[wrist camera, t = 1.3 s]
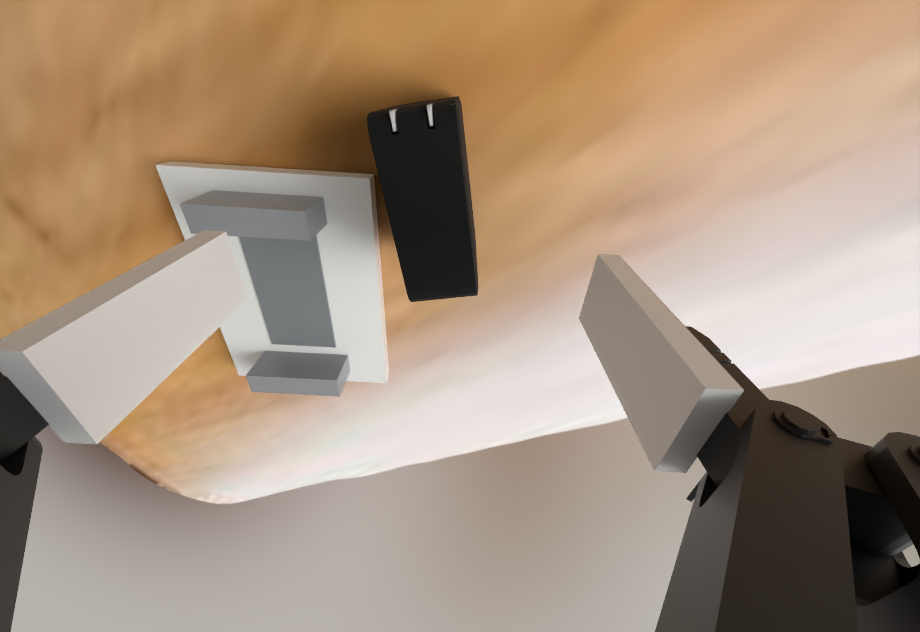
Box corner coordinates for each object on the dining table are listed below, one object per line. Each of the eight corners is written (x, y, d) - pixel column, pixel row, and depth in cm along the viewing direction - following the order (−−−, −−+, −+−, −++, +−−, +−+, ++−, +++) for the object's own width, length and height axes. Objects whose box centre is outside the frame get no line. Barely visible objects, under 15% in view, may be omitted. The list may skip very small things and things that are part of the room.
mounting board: (170, 161, 26) (112, 175, 21) (374, 174, 26) (356, 190, 22) (246, 365, 37) (218, 401, 32) (389, 373, 37) (379, 409, 33)
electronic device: (425, 244, 29) (409, 308, 20) (399, 105, 23) (361, 114, 15) (475, 238, 28) (479, 301, 20) (460, 95, 23) (457, 100, 15)
